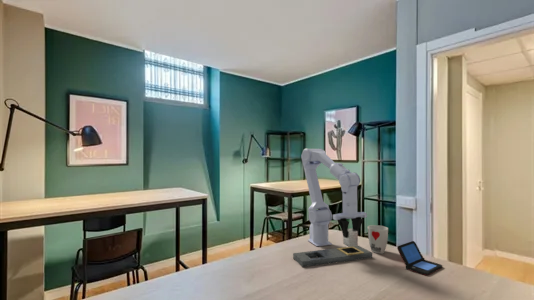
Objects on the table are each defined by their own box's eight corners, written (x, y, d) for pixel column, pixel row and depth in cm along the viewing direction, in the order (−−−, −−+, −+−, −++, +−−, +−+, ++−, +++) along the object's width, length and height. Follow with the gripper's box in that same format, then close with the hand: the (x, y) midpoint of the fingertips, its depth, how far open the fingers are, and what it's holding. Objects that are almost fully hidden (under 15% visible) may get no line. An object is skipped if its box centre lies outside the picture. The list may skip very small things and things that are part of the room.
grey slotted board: (293, 258, 111) (293, 252, 111) (358, 250, 120) (358, 245, 120) (302, 267, 102) (302, 261, 102) (372, 257, 111) (372, 252, 111)
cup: (363, 249, 120) (363, 226, 120) (377, 247, 124) (377, 224, 124) (378, 256, 113) (378, 231, 113) (392, 252, 116) (392, 228, 116)
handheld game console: (426, 277, 94) (426, 254, 94) (396, 266, 103) (395, 246, 103) (444, 268, 101) (443, 247, 101) (413, 259, 110) (413, 240, 110)
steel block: (343, 243, 114) (343, 229, 115) (351, 242, 116) (351, 228, 116) (349, 247, 111) (348, 231, 111) (357, 245, 112) (357, 230, 112)
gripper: (339, 205, 108) (339, 241, 107) (371, 203, 112) (371, 237, 112) (330, 202, 114) (330, 236, 114) (360, 200, 119) (361, 232, 118)
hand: (350, 236), depth 113 cm, fingers closed on steel block, 4 cm apart
